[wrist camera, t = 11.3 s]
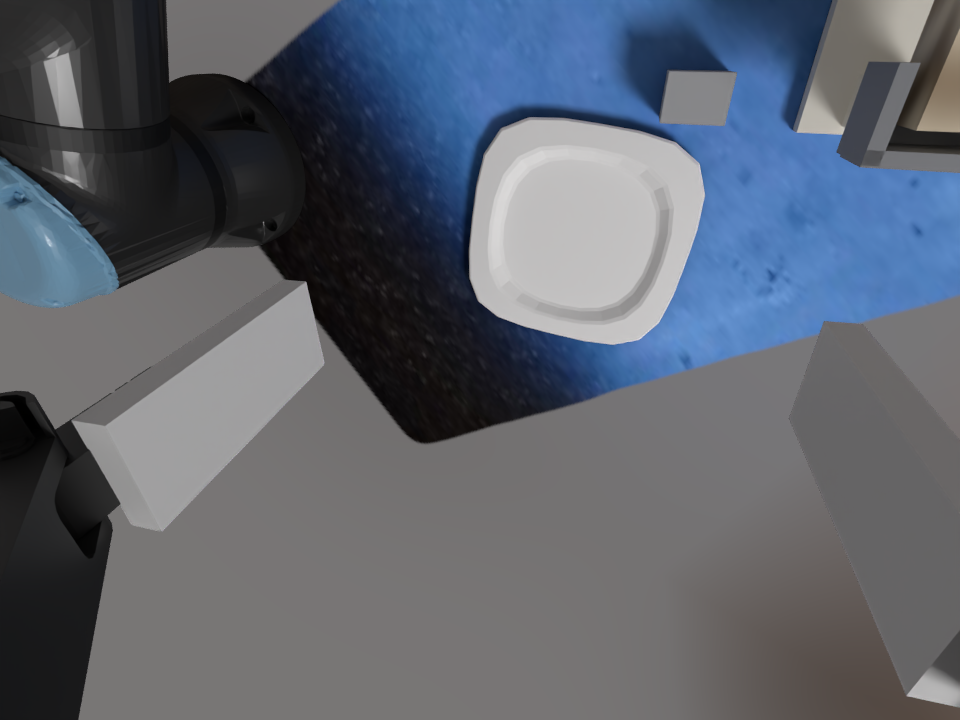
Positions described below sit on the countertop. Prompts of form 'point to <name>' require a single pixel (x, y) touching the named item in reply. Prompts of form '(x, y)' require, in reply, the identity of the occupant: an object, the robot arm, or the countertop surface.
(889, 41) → the bracket stand
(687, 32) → the countertop surface
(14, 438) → the robot arm
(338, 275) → the countertop surface
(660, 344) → the countertop surface
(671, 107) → the rests
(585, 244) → the plate
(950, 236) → the countertop surface
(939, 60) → the rail
